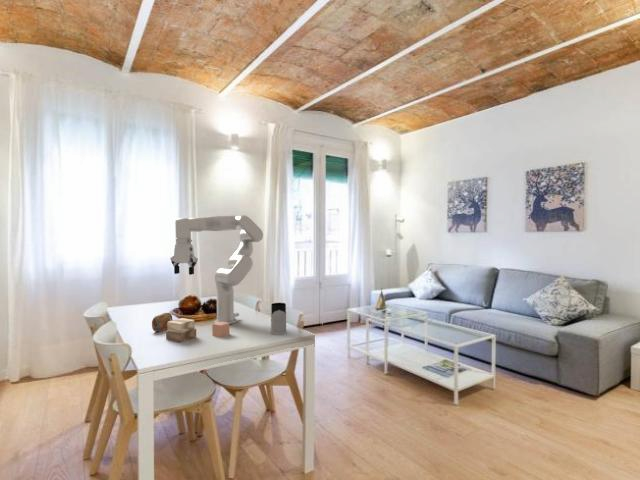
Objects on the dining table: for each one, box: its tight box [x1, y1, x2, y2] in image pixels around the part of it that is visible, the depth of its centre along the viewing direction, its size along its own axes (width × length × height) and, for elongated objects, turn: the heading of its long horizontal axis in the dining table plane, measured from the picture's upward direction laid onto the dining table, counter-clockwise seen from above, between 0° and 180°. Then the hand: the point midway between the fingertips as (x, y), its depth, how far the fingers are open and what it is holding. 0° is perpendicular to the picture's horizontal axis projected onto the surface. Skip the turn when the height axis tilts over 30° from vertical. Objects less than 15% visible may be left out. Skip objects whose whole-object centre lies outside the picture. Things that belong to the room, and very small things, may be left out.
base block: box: [165, 328, 197, 343], centre depth 188 cm, size 10×10×4 cm
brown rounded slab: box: [151, 312, 173, 333], centre depth 204 cm, size 15×3×8 cm, turn 168°
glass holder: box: [269, 302, 288, 336], centre depth 200 cm, size 9×14×15 cm, turn 9°
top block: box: [166, 317, 196, 333], centre depth 187 cm, size 9×9×4 cm
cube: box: [211, 322, 230, 338], centre depth 193 cm, size 6×6×6 cm
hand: (184, 274), depth 199 cm, fingers open, 9 cm apart
